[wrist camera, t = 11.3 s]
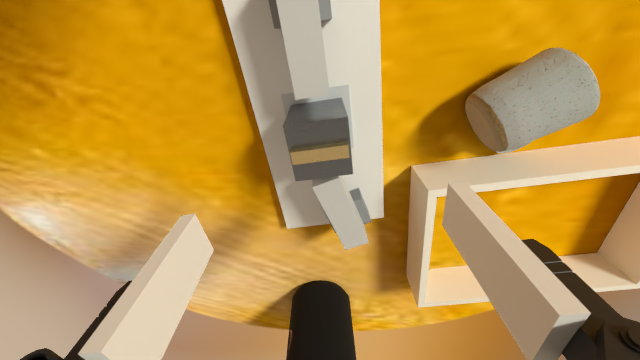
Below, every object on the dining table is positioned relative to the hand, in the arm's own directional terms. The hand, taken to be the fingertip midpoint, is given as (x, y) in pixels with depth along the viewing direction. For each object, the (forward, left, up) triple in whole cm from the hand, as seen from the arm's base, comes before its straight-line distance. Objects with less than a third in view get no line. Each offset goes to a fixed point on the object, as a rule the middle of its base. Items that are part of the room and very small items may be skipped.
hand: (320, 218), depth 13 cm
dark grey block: (+1, 0, -17) cm, 17 cm away
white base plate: (0, 0, -19) cm, 19 cm away
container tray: (+19, +27, -19) cm, 38 cm away
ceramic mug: (+2, +21, -19) cm, 29 cm away
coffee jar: (+34, -5, -19) cm, 39 cm away
